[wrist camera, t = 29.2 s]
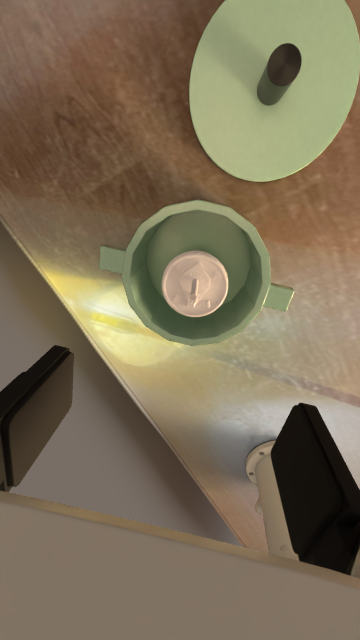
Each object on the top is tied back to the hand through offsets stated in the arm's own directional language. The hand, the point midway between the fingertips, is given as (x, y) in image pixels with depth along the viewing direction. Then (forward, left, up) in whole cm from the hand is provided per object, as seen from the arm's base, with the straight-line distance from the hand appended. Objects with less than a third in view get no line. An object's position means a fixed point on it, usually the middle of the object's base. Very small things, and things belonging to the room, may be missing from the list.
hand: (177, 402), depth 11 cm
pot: (0, 0, -26) cm, 26 cm away
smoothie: (0, 0, -25) cm, 25 cm away
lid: (+18, -3, -25) cm, 31 cm away
